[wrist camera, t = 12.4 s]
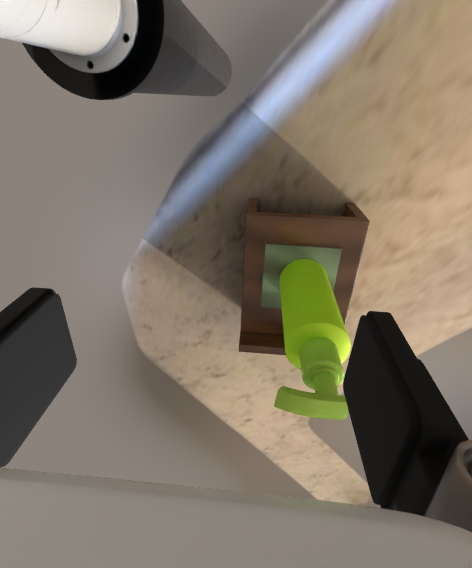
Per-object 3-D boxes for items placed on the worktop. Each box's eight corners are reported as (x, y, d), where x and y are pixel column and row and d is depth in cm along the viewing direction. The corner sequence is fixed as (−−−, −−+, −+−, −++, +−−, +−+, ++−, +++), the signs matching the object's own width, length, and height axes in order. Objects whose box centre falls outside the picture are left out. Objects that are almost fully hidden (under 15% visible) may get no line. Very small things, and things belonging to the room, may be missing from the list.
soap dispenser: (275, 254, 40) (283, 373, 23) (332, 262, 40) (384, 388, 23) (267, 295, 43) (269, 429, 26) (320, 303, 43) (358, 442, 26)
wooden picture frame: (249, 197, 44) (244, 222, 36) (354, 203, 44) (377, 230, 35) (243, 309, 53) (238, 351, 44) (331, 315, 53) (344, 359, 44)
